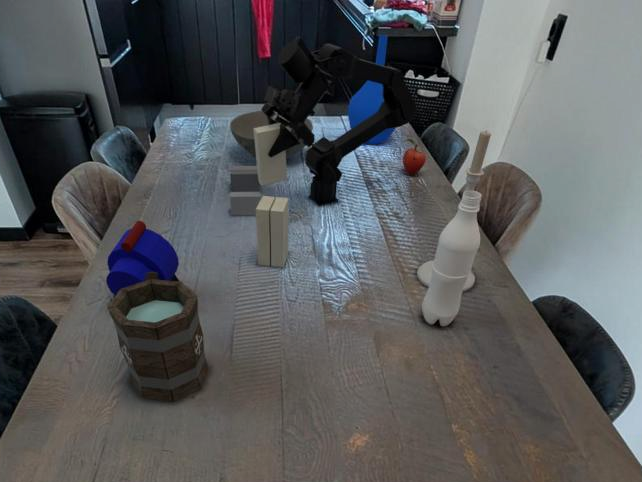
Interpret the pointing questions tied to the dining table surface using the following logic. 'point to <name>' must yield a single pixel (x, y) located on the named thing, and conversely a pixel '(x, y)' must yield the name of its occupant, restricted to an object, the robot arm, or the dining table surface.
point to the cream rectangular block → (267, 166)
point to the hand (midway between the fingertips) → (266, 154)
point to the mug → (160, 337)
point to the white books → (272, 230)
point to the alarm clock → (140, 258)
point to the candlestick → (472, 180)
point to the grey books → (244, 190)
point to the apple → (413, 160)
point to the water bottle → (453, 262)
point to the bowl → (244, 132)
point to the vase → (370, 98)
